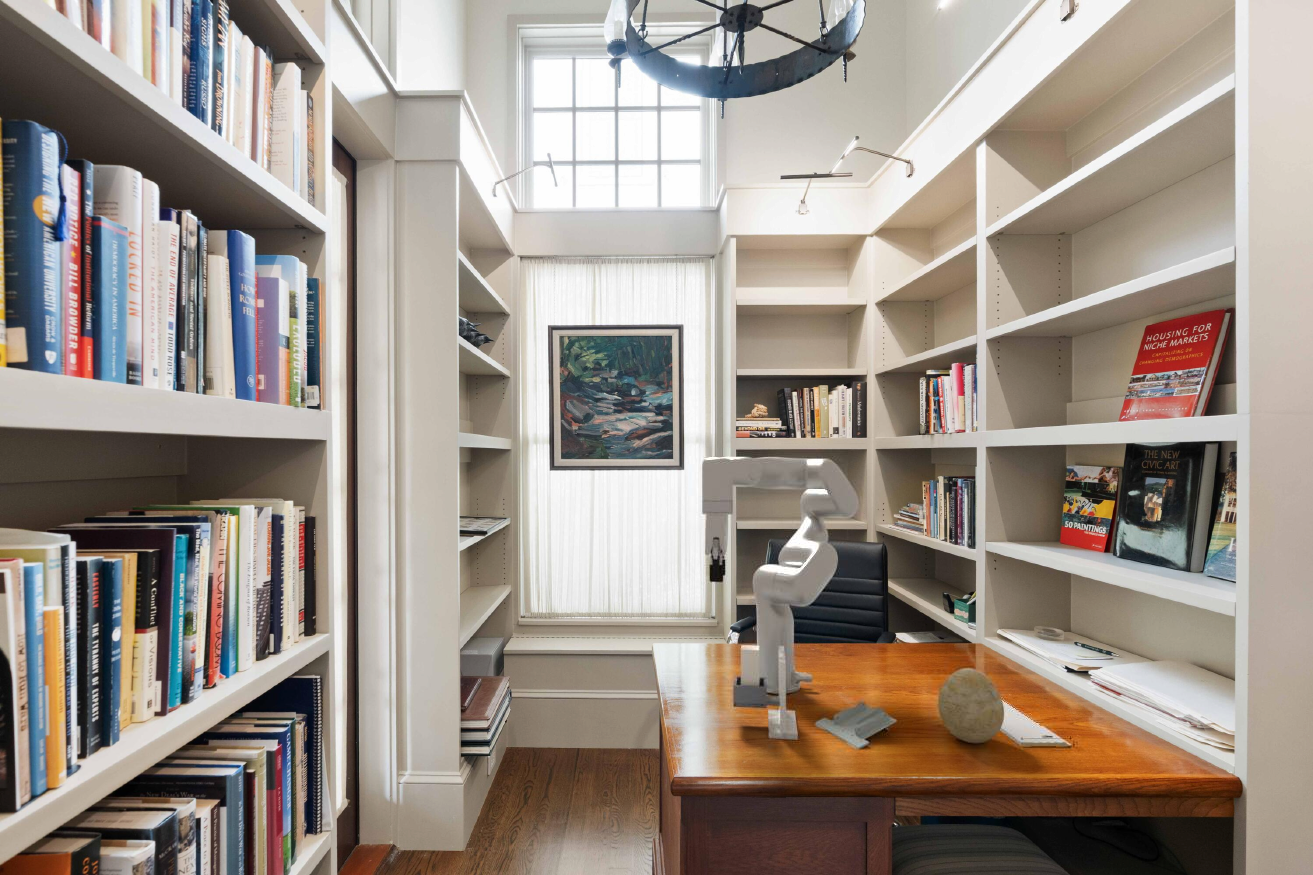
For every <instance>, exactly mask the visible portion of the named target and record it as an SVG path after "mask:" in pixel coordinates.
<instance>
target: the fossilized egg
mask: <svg viewBox="0 0 1313 875" xmlns="http://www.w3.org/2000/svg"><path fill="white" fill-rule="evenodd" d="M937 710H938V714H939V717H940V719H941V721H942V724H943V725H944V726H945V728H946V729H947V730H948V731H949V733H951V734H952V735H953V736H954V737H956V738H957V739H959V740H960V741H963V742H965V743H968V744H969V743H970V744H982V743H985V742H988V741H990V740H991V739H993V738H995V736H996V735H997V734H998V733H999V732H1000V728H1001V726H1002V724H1003V720H1004V706H1003V702H1002V697H1001V695H1000V691H998V689H997V687H996V685H995V684H994V683H993V681H991V679H990V678H989V677H987V675H986V674H984V673H983V672H982V671H979V670H977V669H975V668H971V667H964V668H960V669H957V670H956V671H954V672H952V674H951V675H949V676H948V677H947V679H945V680H944V682H943V684H942V686H941V688H940V690H939V692H938V698H937Z"/></svg>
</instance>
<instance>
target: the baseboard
mask: <svg viewBox="0 0 1313 875" xmlns="http://www.w3.org/2000/svg"><path fill="white" fill-rule="evenodd" d="M1003 700H1004V699H1003ZM1003 700H1002V702H1003V706H1004V720H1003V724H1002V726H1001V728H1000V730H999V732H1001V731H1002V732H1001V733H1003V734H1004V735H1005V734H1006V735H1005V736H1006V737H1007V738H1010V740H1012V741H1013V742H1014V741H1015V742H1014V743H1016V745H1018V744H1019V745H1018V746H1020V747H1021V748H1032V747H1031V746H1056V747H1057V748H1062V747H1063V748H1068V747H1067V746H1072V747H1073V746H1075V743H1076V744H1078V742H1077V741H1074V740H1072V737H1071V736H1070V737H1067V738H1066V737H1064V738H1063V737H1060V736H1059V735H1057V734H1056V733H1054V732H1053V731H1051V730H1050V729H1048V728H1046V727H1045V726H1044V725H1042V726H1040V725H1039V724H1040V723H1039V722H1038V723H1036V722H1037V721H1036V722H1034V721H1033V720H1034V719H1033V720H1031V719H1032V718H1031V717H1030V718H1031V719H1030V718H1028V717H1029V716H1028V715H1027V716H1028V717H1027V716H1025V715H1026V714H1025V713H1024V714H1025V715H1024V714H1022V713H1023V712H1022V711H1021V712H1022V713H1021V712H1019V711H1020V710H1019V709H1018V710H1019V711H1018V710H1016V709H1017V708H1016V707H1015V708H1016V709H1015V708H1013V707H1014V706H1013V705H1012V706H1013V707H1012V706H1010V705H1011V704H1010V703H1009V704H1010V705H1009V704H1007V703H1008V702H1007V701H1006V702H1007V703H1006V702H1004V701H1005V700H1004V701H1003ZM1065 739H1066V740H1065ZM1067 739H1069V740H1070V741H1071V740H1072V744H1071V743H1070V742H1068V741H1067ZM1056 747H1055V748H1056Z"/></svg>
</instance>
